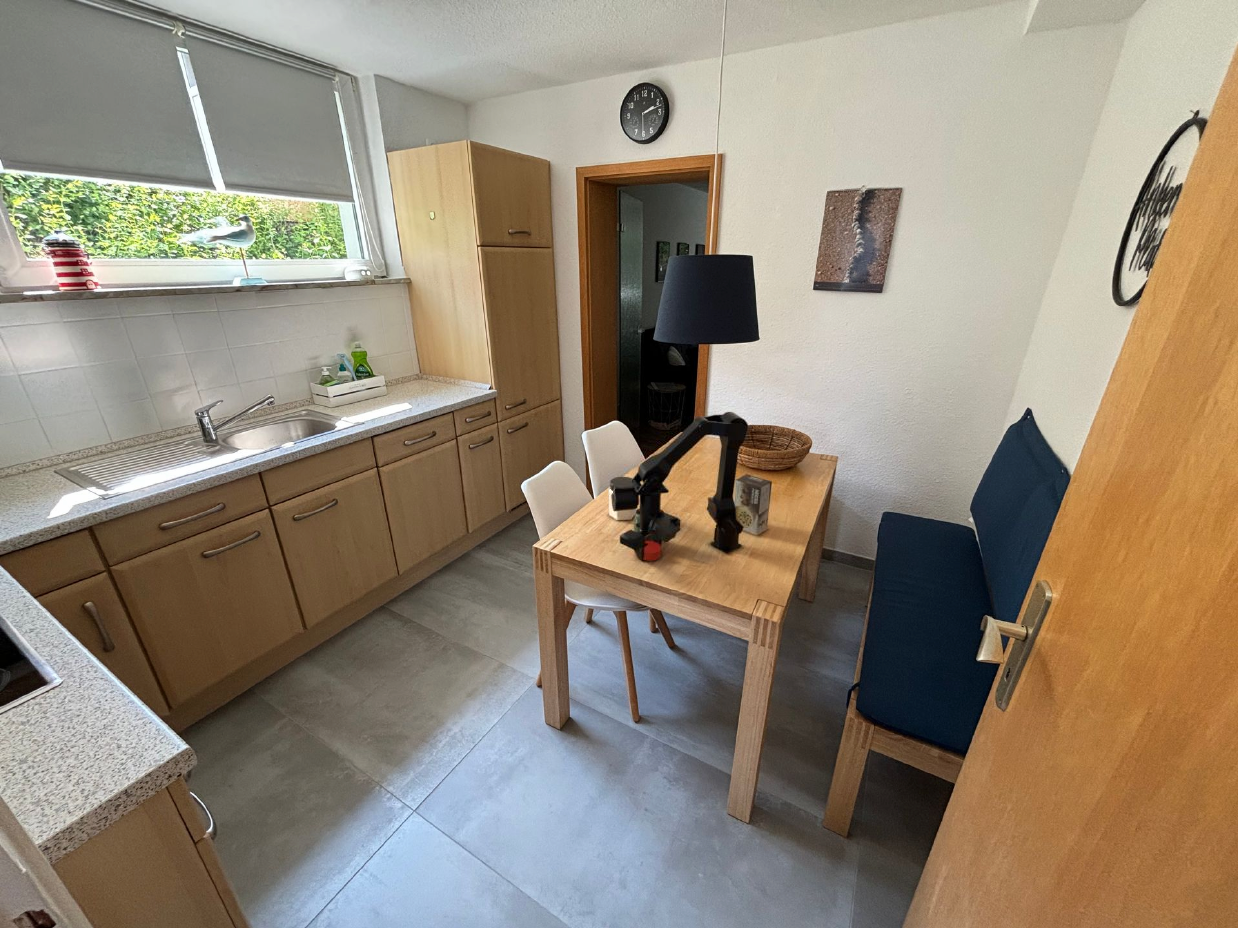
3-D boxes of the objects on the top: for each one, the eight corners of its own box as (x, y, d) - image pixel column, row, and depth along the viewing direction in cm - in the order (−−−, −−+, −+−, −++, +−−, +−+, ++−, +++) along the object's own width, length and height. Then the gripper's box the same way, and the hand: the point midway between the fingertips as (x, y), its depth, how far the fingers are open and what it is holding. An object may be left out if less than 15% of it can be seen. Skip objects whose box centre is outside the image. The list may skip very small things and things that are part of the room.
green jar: (658, 541, 148) (659, 514, 144) (642, 548, 144) (642, 520, 141) (645, 533, 152) (645, 506, 149) (629, 539, 149) (629, 512, 146)
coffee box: (767, 528, 154) (773, 481, 148) (756, 536, 150) (761, 487, 144) (742, 519, 160) (746, 473, 154) (731, 526, 156) (735, 478, 150)
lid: (632, 555, 140) (632, 548, 139) (644, 545, 145) (644, 538, 144) (653, 563, 137) (653, 555, 136) (664, 552, 142) (665, 545, 141)
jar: (634, 508, 168) (634, 475, 163) (637, 519, 160) (638, 485, 156) (608, 509, 167) (607, 476, 163) (610, 521, 160) (609, 487, 155)
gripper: (650, 529, 124) (649, 582, 130) (694, 504, 136) (691, 553, 142) (618, 515, 131) (618, 565, 137) (662, 493, 144) (660, 540, 149)
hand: (648, 556), depth 141 cm, fingers closed on lid, 6 cm apart
